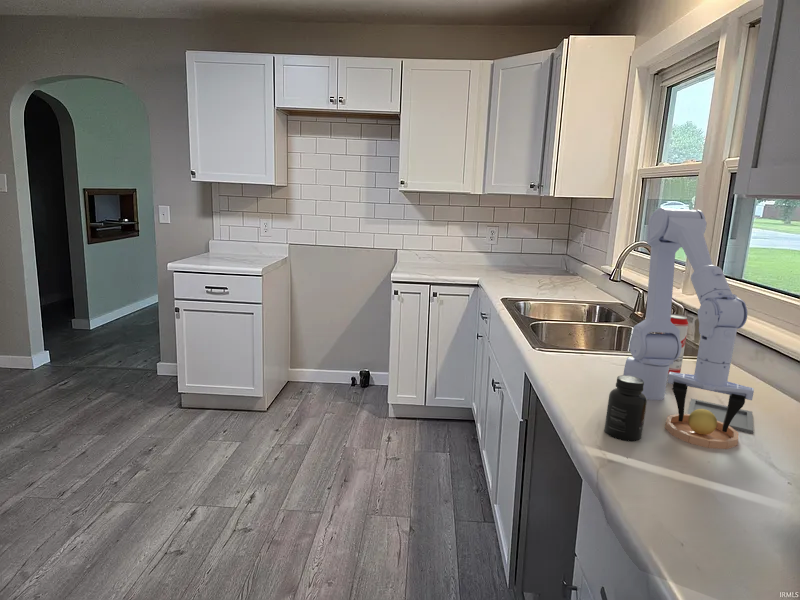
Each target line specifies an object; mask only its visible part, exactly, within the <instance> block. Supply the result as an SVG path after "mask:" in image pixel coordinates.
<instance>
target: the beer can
mask: <svg viewBox="0 0 800 600" xmlns="http://www.w3.org/2000/svg"><path fill="white" fill-rule="evenodd" d="M670 321H671V322H672V323H673V324H674V325H675V326H676V327H677V328H678V329H679V330H680V341H681V346H682V349H681V353H680V355H679V357H678V358H677V359H676V360H674V361H673V364H670V366H669V372H675V373H682V372H681V371H682V364H683V359H684V354H685V353H684V352H685V347H686V340H687V335H688V329H689V321H688V317H687V316H686V315H682V314H676V313H671V320H670ZM660 334H665V333H663V332H660ZM669 372H668V376H669Z"/></svg>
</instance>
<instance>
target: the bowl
mask: <svg viewBox="0 0 800 600" xmlns="http://www.w3.org/2000/svg"><path fill="white" fill-rule="evenodd" d="M689 416H690V414H687V413H684V416H683V421H682V422H681V421H678V420H679V413H674V414H670V415H667V417H666V421H665V426H664V429H665V431H667V432H668V433H669V434H670V435H671V436H673V437H675V438H676V439H679V440H681V441H684V442H686V443H688V444H692V445H694V446H699V447H703V448H707V449H717V450H718V449H719V450H729V449H731V448H732V449H733V448H735V447H738V443H739V432H738V430H735V429H733V428H732V427H731V426H728V429H727V432H724V431H722V430H723V423H722V422H720V421H717V427H716V429H715V430H714V431H713V432H712V433H710V434H707V435H702V434H698V433H696V432H694V431H693V430H692V429H691V427H690V426H689V422H688V419H689Z"/></svg>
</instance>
